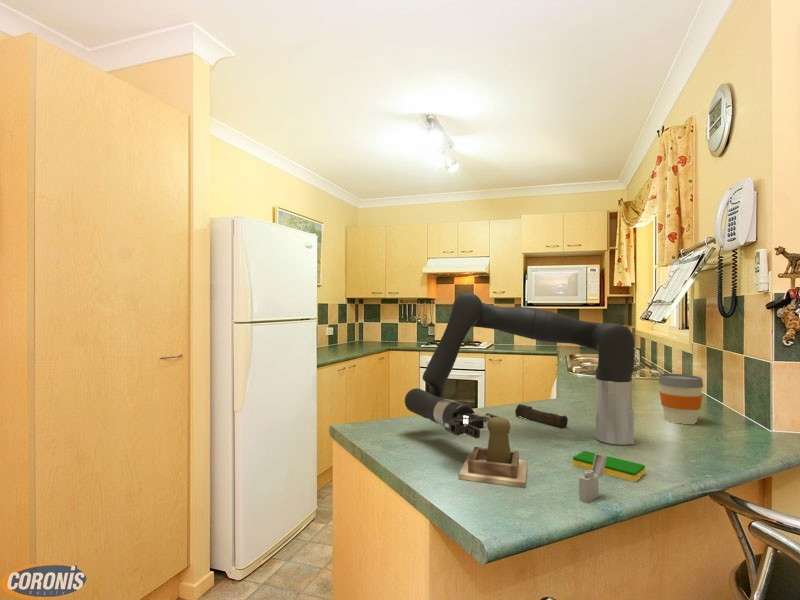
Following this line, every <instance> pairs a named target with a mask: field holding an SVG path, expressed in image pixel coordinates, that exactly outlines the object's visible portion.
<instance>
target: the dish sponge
mask: <svg viewBox="0 0 800 600" xmlns="http://www.w3.org/2000/svg"><path fill="white" fill-rule="evenodd" d="M595 453H596V452H591V451H588V450H583V451H581V452H580V453H577V454H576V455H574V456H572V466H574V467H577V468H581V469H585V470H587V469H588V470H592V466H593V461H594V457H595ZM605 456H606V457H607V459H606V463H605V468H604V472H603V473H604V474H603V475H606V474H607V476H610V475H612V476H611V477H613V476H616V477H615V478H617V477H621V478H625V479H629V480H633V481H636V480H637V479H638V478H639V477H641V476H642V475H643V474H644V473H645V474H646V465H645V464H641V463H636V462H634V461H628V460H624V459H621V458H616V457H612V456H608V455H605ZM643 476H644V475H643ZM643 476H642V477H643ZM642 477H641V478H642ZM621 478H620V479H621ZM625 479H624V480H625ZM637 481H638V480H637ZM637 481H636V482H637Z"/></svg>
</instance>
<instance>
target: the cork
mask: <svg viewBox="0 0 800 600" xmlns="http://www.w3.org/2000/svg"><path fill="white" fill-rule="evenodd" d="M487 427H488V430H489V431H488V432H489V437H488V445H487V448H488V450H487V458H486V461H489V462H497V463H506V464H511V463H512V460H511V453H510V451H511V447H510V439H509V433H510V431H511V423H510V420H509V419H508V418H505V417H503V416H499V417H492V418H490V419H489V420H488V423H487ZM508 432H509V433H508Z"/></svg>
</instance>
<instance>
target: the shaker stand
mask: <svg viewBox="0 0 800 600" xmlns="http://www.w3.org/2000/svg"><path fill="white" fill-rule="evenodd" d="M487 450H488V447H481V446H479V447H478V446H474V447H473V450H472V451H471V454H470V453H468V454H467V456H466V458H465V461H464V462H463V465H462V466H461V469H460V470H459V473H458V480H462V481H464V480H465V481H473V482H479V483H486V484H487V483H488V484H493V485H494V484H496V485H502V486H510V487H517V488H526V482H527V472H528V471H527V469H528V467H527V466H528V460H526V459H520V452H519V451H518V450H510V453H511V460H512V463H511V464H506V463H497V462H489V461H486V458H487Z"/></svg>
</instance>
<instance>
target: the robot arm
mask: <svg viewBox="0 0 800 600" xmlns="http://www.w3.org/2000/svg"><path fill="white" fill-rule="evenodd" d="M472 328H481V329H488V330H489V329H491V330H497V331H500V332H504V333H506V334H510V335H514V336H517V337H522V338H526V339H531V340H536V341H540V342H545V343H546V342H547V343H554V344H555V343H557V344H571V345H572V344H573V345H577V346H582V347H585V348H588V349H591V350H595V351H598V354H597V355H598V360H597V361H598V363H597V367H596V369H595V438H596V439H595V440H598V441H600V442H602V443H606V444H608V445H609V444H610V445H616V446H617V445H618V446H619V445H620V446H625V445H635V433H634V432H635V431H634V430H635V423H634V422H635V421H634V420H635V417H634V416H635V414H634V413H635V411H634V409H633V408H632V407H633V401H632V399H633V396H632V395H633V393H632V392H633V391H632V390H633V389H632V386H633V385H632V383H633V382H632V381H633V379H632V378H633V373H634V369H635V348H636V347H635V337H634V335H633V333H632V331H631V330H630V329H629V328H628V327H627V326H626V325H624V324H623V325H622V324H620V323H613V322H607V323H605V322H595V321H586V320H580V319H575V318H573V317H570V316H567V315H564V314H561V313H558V312H554V311H550V310H545V309H541V308H535V307H527V306H498V305H493V304H488V303H486V302H482V300H481V298H480V297H479V296H478V295H477V294H475V293H472V292H464V293H462V294H460V295H458V296H457V297H456V298H455V300H454V301H453V303H452V308H451V311H450V315H449V319H448V322H447V325H446V327H445V330H444V332H443V334H442V337H441V339H440V341H439V343H438V344H437V347H436V349H435V350H434V352H433V354H432V356H431V357H430V360H429V361H428V364H427V365H426V368H425V370H424V372H423V374H422V380H423V382H425V383H426V385H428V386H429V387H428V388H429V389H428V390H429V391H425V390H423V389H421V388H417V387H415V388H412V389H410V390H409V391H408V392H407V393H406V395H405V397H404V405H405V407H406V409H407V410H408V411H409V412H411V413H413V414H416V415H417V416H420V417H422V418H424V419H427V420H430V421H432V422H434V423H435V424H438V425H440V426H441V427H442V428H444V430H445V431H447V432H449V433H451V434H453V435H455V436H460V435H462V436H469V437H472V438H474V439H480V437H481V431H485V432H489V430H488V427H487V423H488V420H489V419H490V418H492V417H500V416H498V415H494V414H492V413H488V412H487V413H485V415H483V414H479V413H476V412H475V411H474V409H473V407H472V406H470V405H467V404H465V403H463V402H460V401H456V400H453V399H448V398H444V397H443V395H444V394H443V393H444V389H445V385H446V383H447V381H448V379H449V376H450V374H451V372H452V370H453V368H454V365H455V363H456V360H457V357H458V355H459V352H460V350H461V348H462V344H463V343H464V341H465V338H466V337H467V334H468V332H469V331H470V329H472ZM484 423H485V424H486V425H485V424H484ZM508 434H510V431H509V432H508Z"/></svg>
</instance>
